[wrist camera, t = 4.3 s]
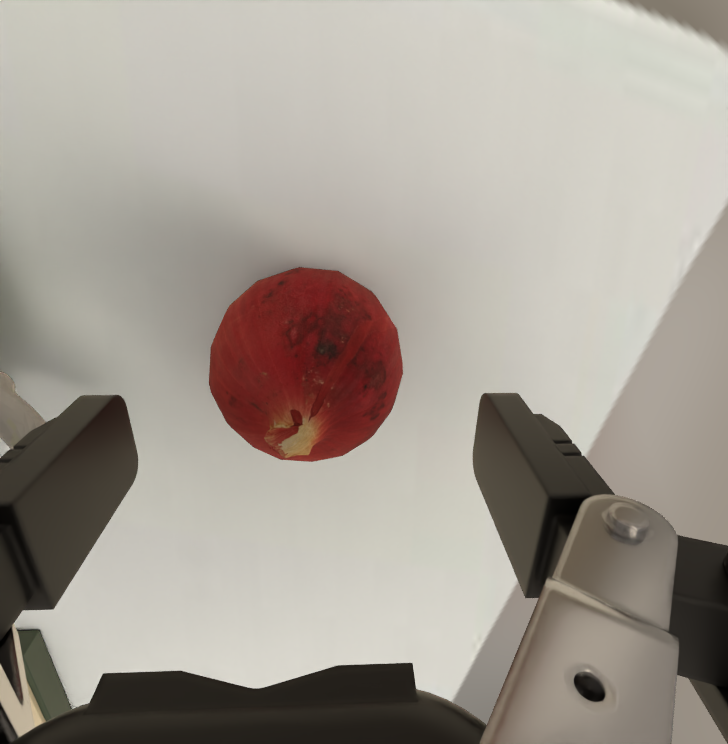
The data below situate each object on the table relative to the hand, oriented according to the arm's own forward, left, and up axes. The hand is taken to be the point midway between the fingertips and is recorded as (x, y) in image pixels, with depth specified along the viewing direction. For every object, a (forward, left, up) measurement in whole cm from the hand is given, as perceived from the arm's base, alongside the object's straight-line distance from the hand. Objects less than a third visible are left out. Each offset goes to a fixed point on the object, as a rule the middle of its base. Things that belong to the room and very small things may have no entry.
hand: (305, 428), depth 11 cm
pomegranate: (0, 0, -8) cm, 8 cm away
